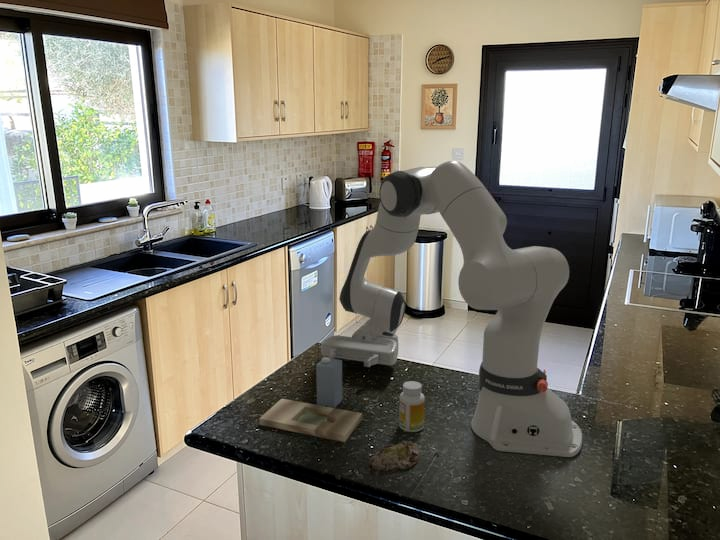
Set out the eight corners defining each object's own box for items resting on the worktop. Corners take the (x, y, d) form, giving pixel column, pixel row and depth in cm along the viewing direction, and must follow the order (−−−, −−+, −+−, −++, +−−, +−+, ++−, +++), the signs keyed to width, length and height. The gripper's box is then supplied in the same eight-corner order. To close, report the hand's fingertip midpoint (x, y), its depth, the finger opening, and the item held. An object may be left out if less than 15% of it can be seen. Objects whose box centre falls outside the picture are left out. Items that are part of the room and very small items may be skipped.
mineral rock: (401, 432, 119) (425, 439, 112) (405, 452, 119) (429, 461, 112) (357, 449, 113) (379, 458, 107) (361, 471, 114) (384, 481, 107)
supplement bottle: (427, 423, 126) (428, 382, 124) (419, 435, 122) (420, 392, 119) (404, 418, 129) (404, 377, 126) (395, 429, 124) (395, 387, 122)
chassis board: (362, 419, 128) (362, 413, 128) (344, 442, 119) (344, 435, 119) (281, 404, 135) (281, 398, 135) (259, 424, 126) (259, 418, 126)
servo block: (342, 399, 137) (341, 357, 135) (334, 408, 133) (334, 364, 131) (325, 396, 139) (324, 354, 136) (317, 404, 135) (316, 361, 132)
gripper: (332, 326, 161) (310, 344, 148) (403, 336, 154) (386, 355, 141) (332, 348, 162) (311, 367, 150) (403, 358, 155) (386, 379, 143)
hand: (348, 361), depth 145 cm, fingers open, 8 cm apart
